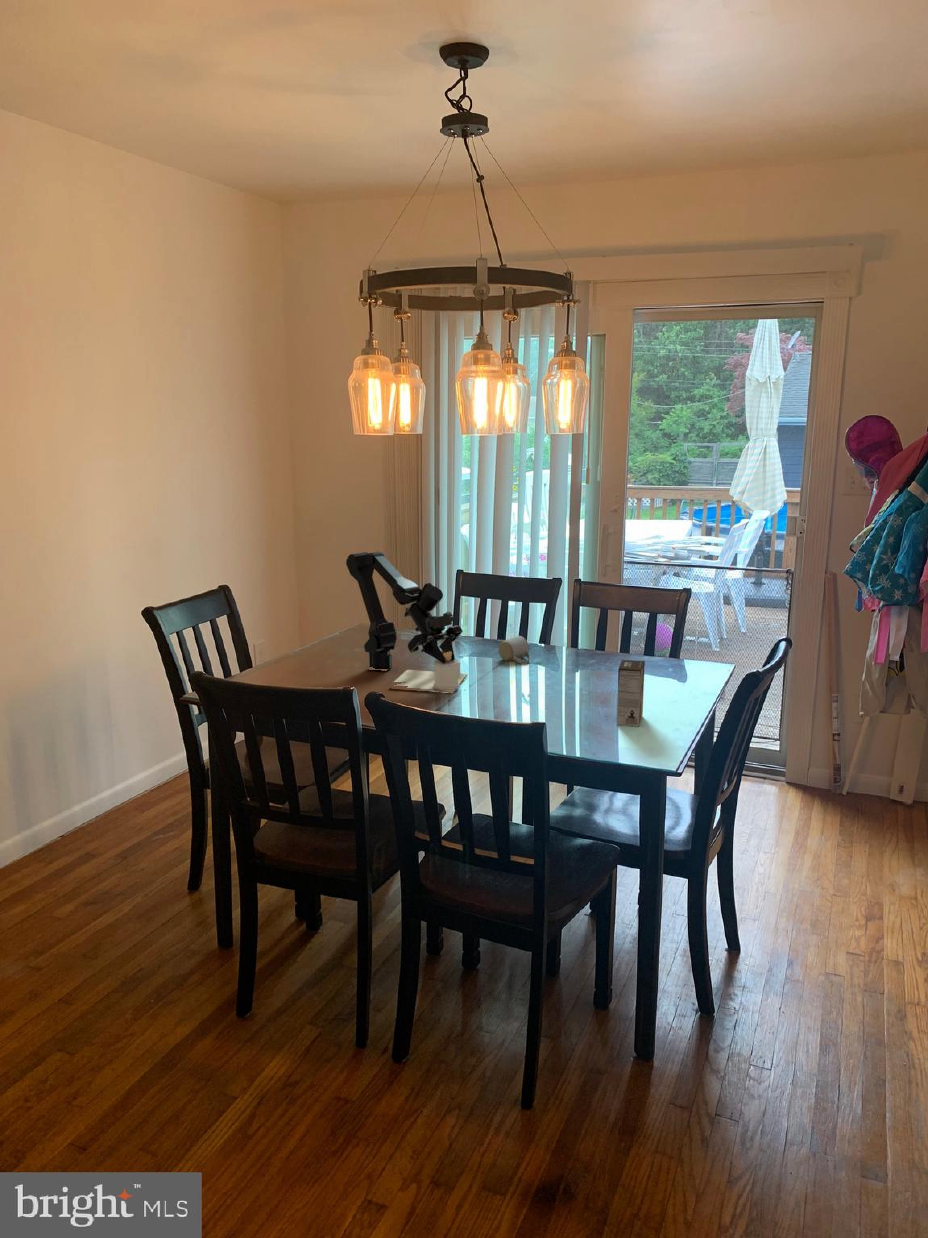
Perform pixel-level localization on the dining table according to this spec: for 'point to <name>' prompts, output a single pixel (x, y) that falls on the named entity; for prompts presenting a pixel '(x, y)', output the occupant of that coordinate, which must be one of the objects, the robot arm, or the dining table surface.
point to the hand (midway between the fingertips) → (449, 661)
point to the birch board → (422, 680)
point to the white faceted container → (446, 675)
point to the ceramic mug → (514, 649)
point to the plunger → (447, 655)
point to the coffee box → (630, 693)
